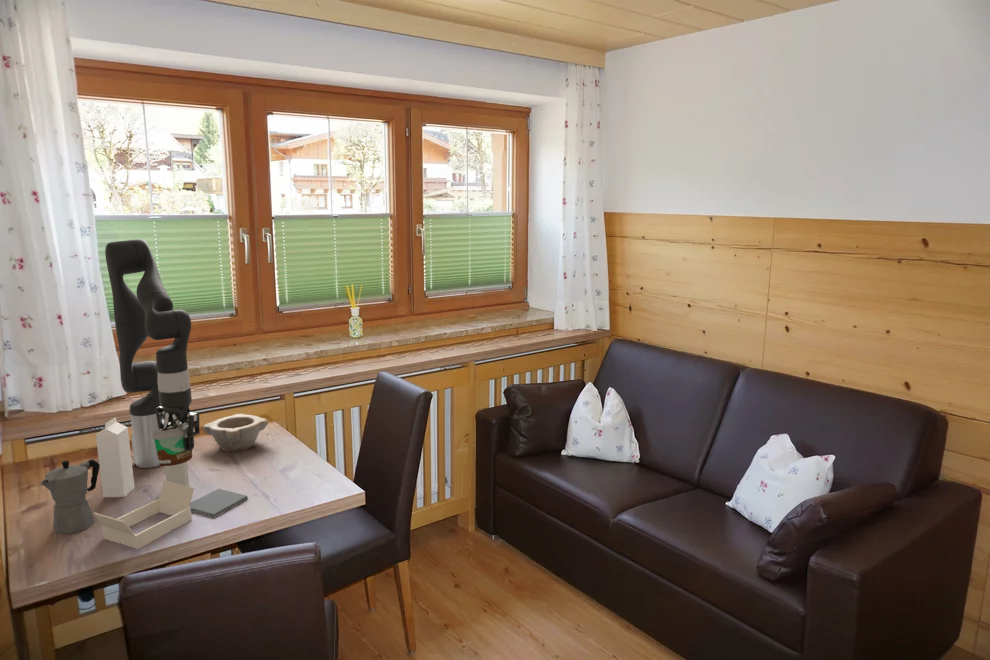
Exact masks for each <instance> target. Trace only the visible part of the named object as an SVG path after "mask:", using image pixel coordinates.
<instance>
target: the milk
mask: <svg viewBox="0 0 990 660" xmlns="http://www.w3.org/2000/svg"><path fill="white" fill-rule="evenodd" d="M104 426H105V428H104V429H102V430H101V431H99V432H98V433H96V434H95V440H96V449H97V456H98V457H97V458H98V463H99V472H100V473H99V474H100V479H101V488H102V497H103V498H125V497H127V496H128V495H129V494H131V492H132V491H133V490H134V489H135V478H134V471H133V463H132V462H133V461H132V453H131V444H130V438H129V437H130V436H129V428H128V426H126V425H124V424H122V423H119V422H118V421H117V417H114V418H112V419H110V420H108V421H107V422H106V423H105V424H104Z"/></svg>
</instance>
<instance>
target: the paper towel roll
mask: <svg viewBox="0 0 990 660" xmlns="http://www.w3.org/2000/svg"><path fill="white" fill-rule="evenodd" d="M163 423H164V419H163V420H162V424H163ZM160 430H163V429H160ZM163 467H164V475H165V481H168V482H172V483H176V484H179V485H183V486H187V487H190V480H189V470H188V461H187V462H184V463H182V464H178V465H173V466H163Z"/></svg>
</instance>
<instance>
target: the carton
mask: <svg viewBox="0 0 990 660" xmlns="http://www.w3.org/2000/svg"><path fill="white" fill-rule="evenodd" d="M194 490H195V487H192V486H191V487H190V486H189V487H187V486H183V485H179V484H176V483H172V482H168V481H166V480H163V481H162V486H161V490H160V494H159V498H157V499H154V500H153V501H150V502H148V503H146V504H144V505H142V506H140V507H138V508H136V509H133V510H132V511H129V512H128V513H125V514H123V515H121V516H119V517H117V518H115V517H111V516H108V515H105V514H101V513H98V512H95V511H94V512H93V515H94V516H95V518H97V520H98V521H99V522H100V524H101V527H102V535H103V536H102V537H103V539H105V540H108V541H110V542H115V543H117V544H120V543H121V544H120V545H123V544H124V545H123V546H126V545H127V547H129V548H133V549H137V550H138V549H140V548H142V547H144V546H146V545H148V544H150V543H151V542H153V541H155V540H157V539H159V538H160V537H161V538H162V537H163V536H164V535H166V534H169V533H170V532H172V531H173V529H174V530H175V528H176V529H177V527H178V528H179V527H181V526H182V524H183V525H185V524H186V522H187V523H189V522H191V521H192V519H193V518H192V511H191V508H190V507H189V506H190V503H191V502H192V497H193V494H194ZM158 513H162V514H164V513H165V515H169V516H168V517H167V518H165V519H163V520H162V521H159V522H157V523H155V524H154V525H152V526H151V525H150V527H148V528H146V529H144V530H142V531H140V532H138V533H134V531H133V530H132V529H131V527H132V526H134V525H136V524H138V523H140V522H142V521H144V520H146V519H148V518H150V517H152V516H154V515H156V514H158ZM151 515H152V516H151ZM171 515H172V516H171ZM149 516H150V517H149ZM147 517H148V518H147ZM145 518H146V519H145ZM143 519H144V520H143ZM190 520H191V521H190ZM188 521H189V522H188ZM171 530H172V531H171Z"/></svg>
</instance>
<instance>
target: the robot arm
mask: <svg viewBox="0 0 990 660" xmlns="http://www.w3.org/2000/svg"><path fill="white" fill-rule="evenodd" d="M104 253H105V262H106V267H107V272H108V276H109V277H108V278H109V283H110V287H111V292H112V303H113V316H114V327H115V332H116V333H115V334H116V337H117V344H118V350H119V351H118V352H119V355H118V356H119V372H120V374H119V375H120V382H121V383H120V384H121V387H122V389H123V391H124V392H126V393H129V394H132V393H141V392H148V393H147V394H146V395H144V396H143V397H142V398H139V399H137V400H135V401H133V402H132V403H130V405H129V413H130V414H129V415H130V422H131V431H132V434H131V435H130V440H131V446H132V455H133V464H135V465H136V466H135V467H138V468H140V469H151V468H155V467H161V466H160V465H159V460H158V455H157V450H156V445H155V440H154V439H152V434H153V431H161V430H160V429H164V428H166V427H167V426H169V425H172V424H175V425H177V426H178V428H180V430H183V434H184V437H185V438H184V444H185V450H186V451H190V450H192V451H193V450H194V448H195V440H194V438H195V437H194V436H197V435H199V434H200V414H199V412H192V411H191V409H190V405H191V403H192V402H193V401H192V400H193V399H192V389H191V379H190V378H191V377H190V373H189V369H188V368H189V366H188V357H187V356H188V355H187V353H188V352H187V351H188V343H189V340H190V339H189V338H190V335H191V331H192V330H191V329H192V319H191V316H190V314H188V312H187V311H185V310H184V309H174V303H173V301H172V299H171V297H170V295H169V294H168V291H167V289H166V288H165V286H164V284H163V281H162V279H161V275H160V273H159V269H158V266H157V263H156V260H155V257H154V254H153V251H152V250H151V248H150V246H149V244H148V243H147V241H146V240H144V239H140V238H139V239H137V238H136V239H126V240H119V241H118V240H117V241H111V242H108V243H107V244H106V246H105V250H104ZM143 272H144V273H143ZM136 273H143V275H142V277H141V278H140V280H139V282H138V284H137V287H136V293H135V292H134V291H133V290H132V289H131V287H129V285H128V284H127V283H126V281H125V280H124V276H126V275H129V274H130V275H132V274H136ZM148 337H149V338H150V339H152V340H155V341H162V340H169V339H173V341H172V343H170V344H169V345H166V346H163V347H161V348H159V349H157V351H156V353H155V358H156V359H155V360H147V361H138V362H136V361H135V362H133V360H134V358H135V356H136V354H137V352H138V350H139V349H140V348H141V347H142V345H143V344H144V343H145V341H146V340H147V338H148ZM163 419H164V423H163V424H162V420H163ZM186 422H187V424H188V425H185V426H183V424H186ZM186 428H188V433H187V430H186ZM193 428H194V429H193Z"/></svg>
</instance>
